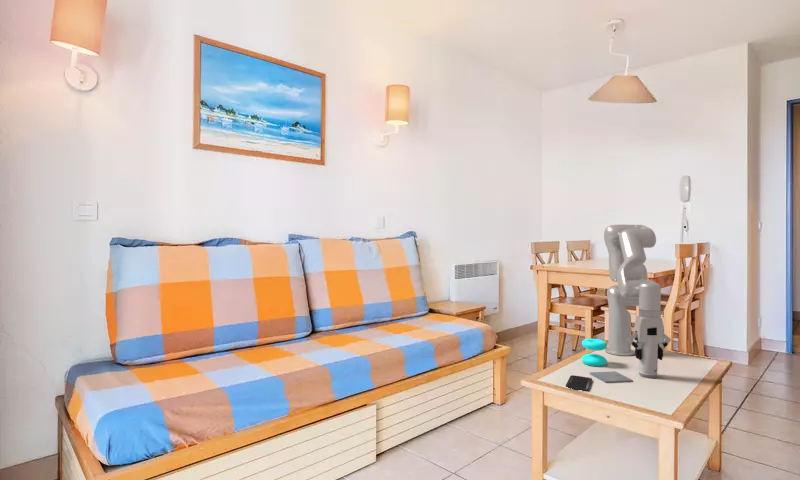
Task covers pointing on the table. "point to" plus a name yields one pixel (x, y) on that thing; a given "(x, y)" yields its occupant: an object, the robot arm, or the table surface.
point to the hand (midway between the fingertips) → (648, 358)
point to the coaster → (611, 377)
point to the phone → (579, 383)
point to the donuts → (594, 358)
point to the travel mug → (649, 355)
